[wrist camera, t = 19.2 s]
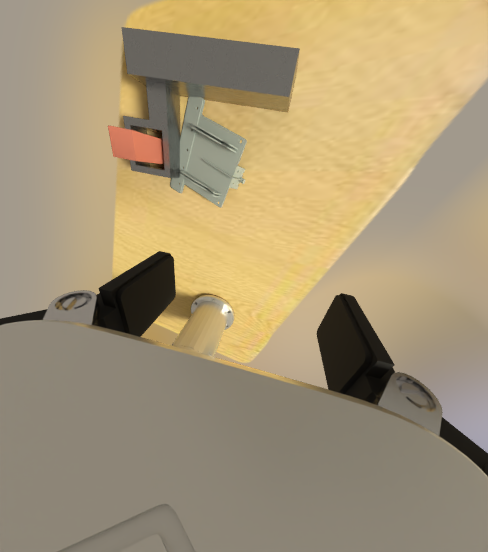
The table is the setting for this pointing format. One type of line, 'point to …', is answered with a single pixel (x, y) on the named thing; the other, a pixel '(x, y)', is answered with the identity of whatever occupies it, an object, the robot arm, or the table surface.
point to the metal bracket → (208, 155)
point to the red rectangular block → (136, 145)
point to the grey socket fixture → (201, 81)
